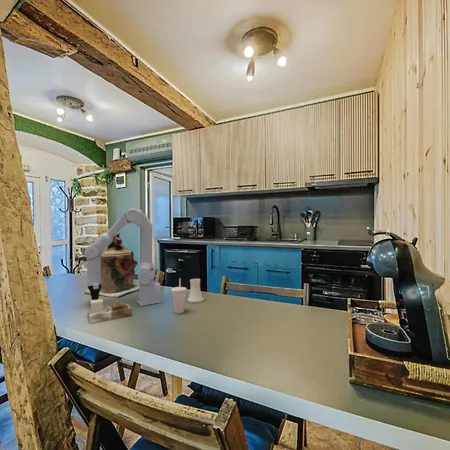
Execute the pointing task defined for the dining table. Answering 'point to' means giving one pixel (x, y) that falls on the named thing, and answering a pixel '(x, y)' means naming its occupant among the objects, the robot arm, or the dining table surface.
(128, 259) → the cookie jar
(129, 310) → the lane rack
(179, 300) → the smoothie
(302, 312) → the dining table surface
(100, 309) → the cream block
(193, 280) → the vase
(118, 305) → the walnut block
